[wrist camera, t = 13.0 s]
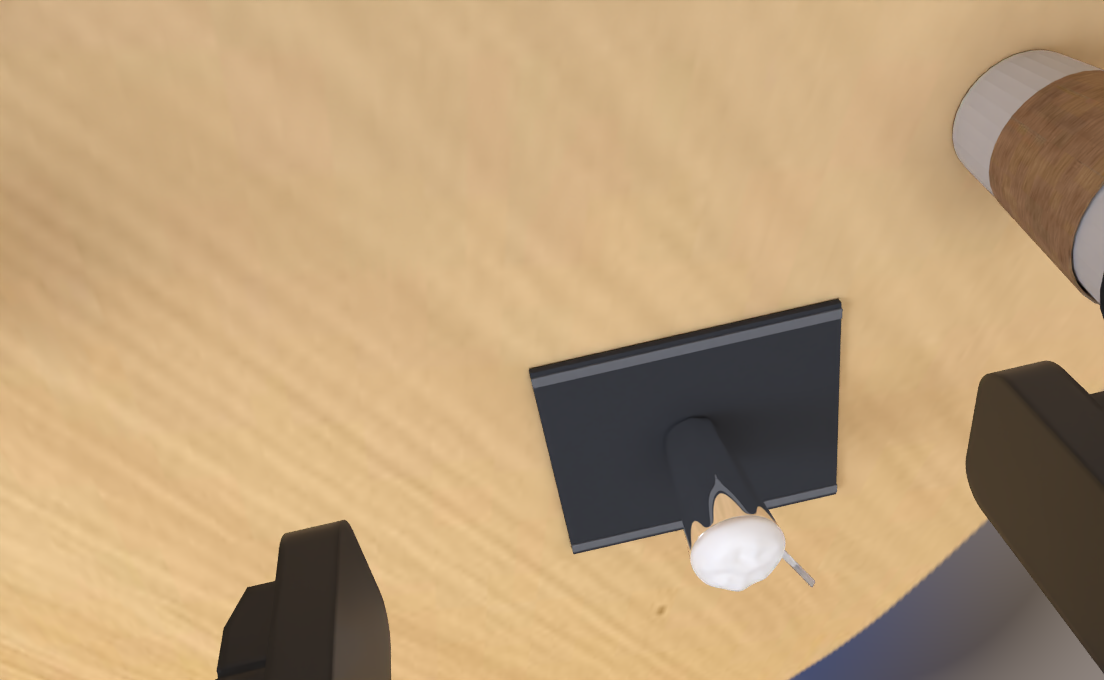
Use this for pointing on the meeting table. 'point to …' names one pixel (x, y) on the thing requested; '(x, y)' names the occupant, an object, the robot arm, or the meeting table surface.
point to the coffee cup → (1043, 155)
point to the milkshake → (722, 509)
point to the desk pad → (692, 391)
